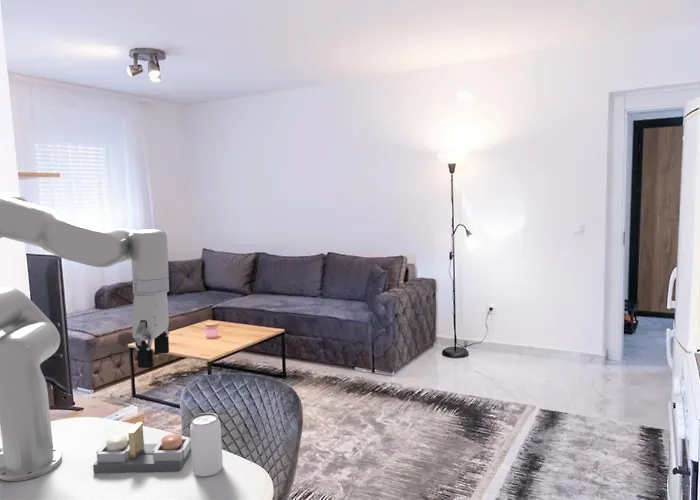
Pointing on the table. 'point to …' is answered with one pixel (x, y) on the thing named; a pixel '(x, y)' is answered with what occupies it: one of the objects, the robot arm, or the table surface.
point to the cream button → (116, 443)
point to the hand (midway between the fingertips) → (154, 359)
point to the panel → (143, 459)
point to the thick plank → (136, 440)
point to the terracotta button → (172, 442)
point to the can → (206, 445)
